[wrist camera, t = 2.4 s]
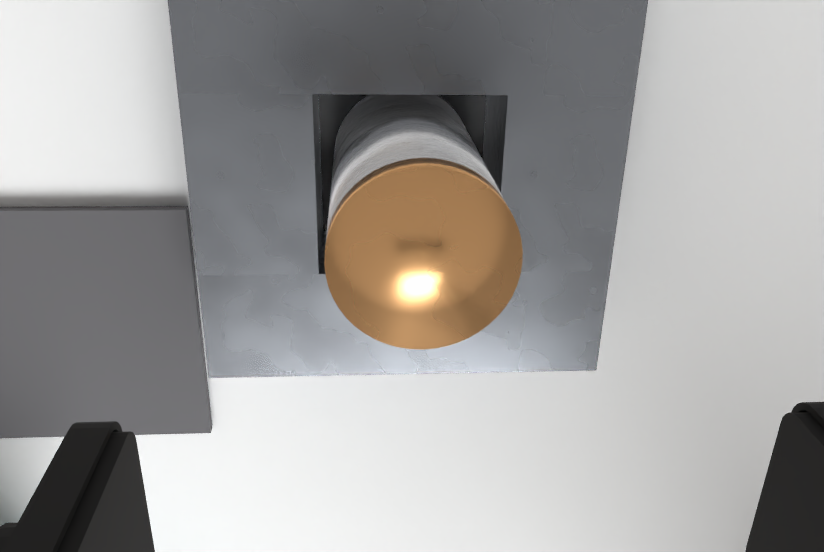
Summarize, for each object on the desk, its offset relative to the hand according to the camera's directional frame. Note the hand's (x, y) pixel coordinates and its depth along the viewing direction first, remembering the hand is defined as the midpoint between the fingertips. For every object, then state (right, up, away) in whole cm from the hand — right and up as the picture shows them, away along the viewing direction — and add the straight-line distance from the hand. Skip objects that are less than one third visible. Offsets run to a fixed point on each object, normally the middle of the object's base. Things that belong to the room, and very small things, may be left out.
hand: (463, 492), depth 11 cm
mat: (-14, +1, +19) cm, 24 cm away
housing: (-1, +8, +17) cm, 19 cm away
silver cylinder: (-1, +8, +17) cm, 19 cm away
